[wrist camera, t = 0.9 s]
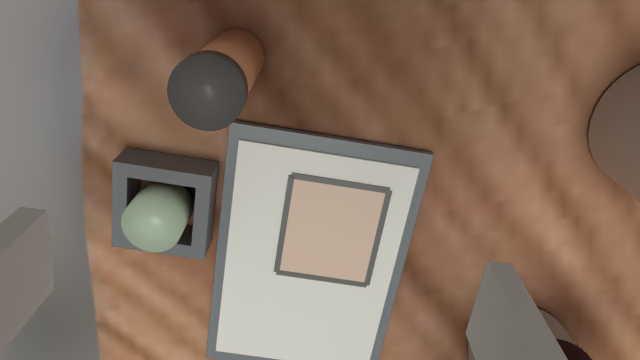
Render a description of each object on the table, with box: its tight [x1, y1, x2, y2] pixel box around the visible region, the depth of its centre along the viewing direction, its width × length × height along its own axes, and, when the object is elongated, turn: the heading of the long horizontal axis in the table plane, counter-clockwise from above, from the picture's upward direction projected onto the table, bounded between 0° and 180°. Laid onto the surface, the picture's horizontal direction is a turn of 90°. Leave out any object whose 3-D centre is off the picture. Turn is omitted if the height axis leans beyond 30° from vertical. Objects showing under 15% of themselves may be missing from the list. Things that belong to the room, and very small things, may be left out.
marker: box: [167, 29, 264, 131], centre depth 27 cm, size 3×3×9 cm
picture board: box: [206, 120, 434, 360], centre depth 37 cm, size 19×13×1 cm
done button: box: [121, 181, 193, 252], centre depth 33 cm, size 4×4×3 cm
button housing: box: [112, 147, 219, 260], centre depth 34 cm, size 6×6×2 cm
